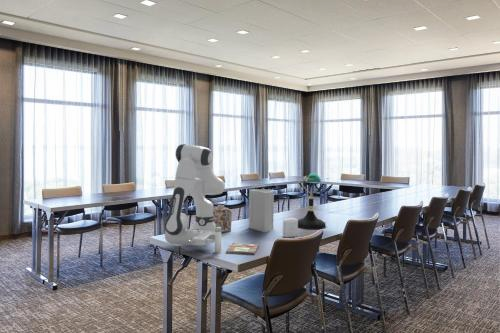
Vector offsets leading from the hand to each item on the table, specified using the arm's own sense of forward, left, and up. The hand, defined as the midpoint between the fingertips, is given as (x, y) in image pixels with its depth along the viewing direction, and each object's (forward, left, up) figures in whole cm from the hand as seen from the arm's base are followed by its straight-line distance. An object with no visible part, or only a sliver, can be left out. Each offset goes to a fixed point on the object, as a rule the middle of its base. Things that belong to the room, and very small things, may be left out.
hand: (216, 238), depth 218 cm
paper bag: (-67, +19, -8) cm, 70 cm away
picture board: (-8, +14, -8) cm, 18 cm away
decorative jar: (-52, -11, -7) cm, 54 cm away
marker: (0, +1, -8) cm, 8 cm away
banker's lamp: (-84, +52, -8) cm, 99 cm away
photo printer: (-47, +39, -8) cm, 61 cm away
